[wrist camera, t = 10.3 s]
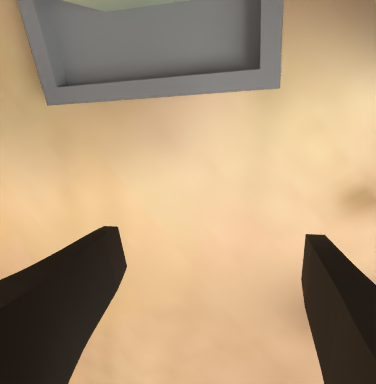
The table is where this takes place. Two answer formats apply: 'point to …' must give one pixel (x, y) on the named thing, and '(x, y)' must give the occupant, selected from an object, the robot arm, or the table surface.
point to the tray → (153, 49)
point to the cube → (119, 4)
